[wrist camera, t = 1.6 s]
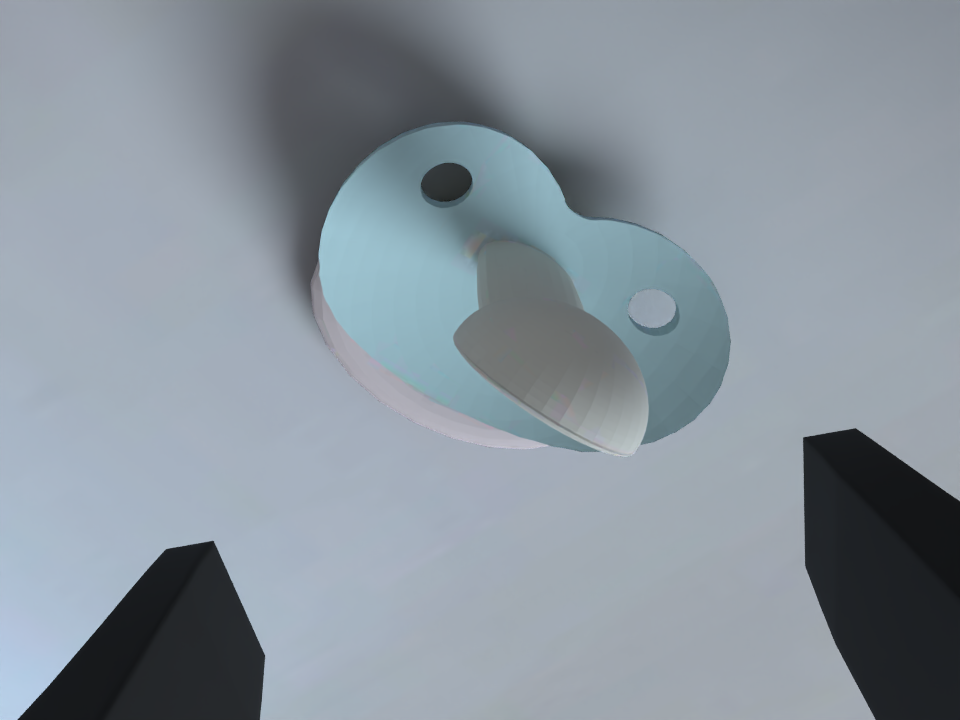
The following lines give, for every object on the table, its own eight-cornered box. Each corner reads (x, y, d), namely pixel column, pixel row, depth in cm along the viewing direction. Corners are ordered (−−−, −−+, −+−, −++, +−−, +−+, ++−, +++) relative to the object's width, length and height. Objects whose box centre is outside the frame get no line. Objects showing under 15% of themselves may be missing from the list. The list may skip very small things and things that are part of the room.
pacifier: (557, 476, 20) (743, 266, 17) (592, 725, 15) (868, 476, 12) (250, 316, 18) (410, 48, 15) (158, 540, 12) (382, 186, 10)
